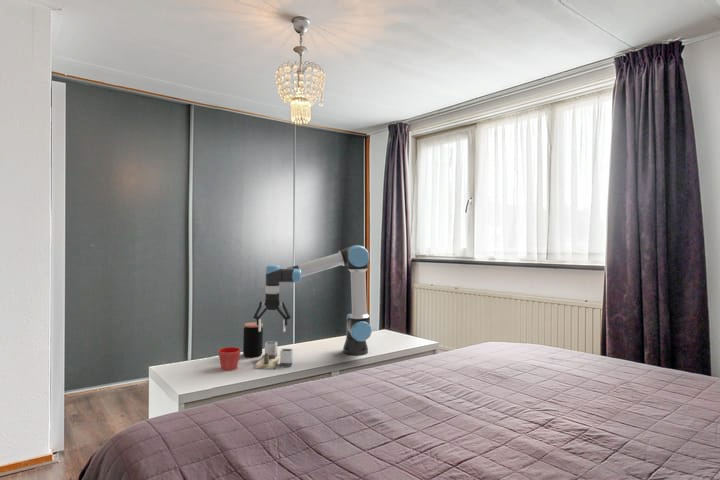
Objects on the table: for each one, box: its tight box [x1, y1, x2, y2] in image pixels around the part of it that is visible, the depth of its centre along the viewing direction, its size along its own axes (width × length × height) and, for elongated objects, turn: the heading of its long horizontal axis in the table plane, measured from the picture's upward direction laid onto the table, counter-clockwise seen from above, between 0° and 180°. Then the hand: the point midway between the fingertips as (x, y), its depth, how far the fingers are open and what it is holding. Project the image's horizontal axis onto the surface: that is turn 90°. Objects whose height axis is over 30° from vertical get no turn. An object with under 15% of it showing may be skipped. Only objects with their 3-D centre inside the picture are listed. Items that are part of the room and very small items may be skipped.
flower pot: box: [218, 346, 241, 372], centre depth 218 cm, size 11×11×10 cm
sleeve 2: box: [279, 348, 294, 367], centre depth 227 cm, size 6×6×8 cm
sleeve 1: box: [264, 340, 278, 359], centre depth 236 cm, size 6×6×8 cm
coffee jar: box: [242, 321, 264, 359], centre depth 243 cm, size 11×11×18 cm
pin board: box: [254, 352, 280, 370], centre depth 230 cm, size 10×20×7 cm, turn 1°
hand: (271, 331), depth 236 cm, fingers open, 13 cm apart
